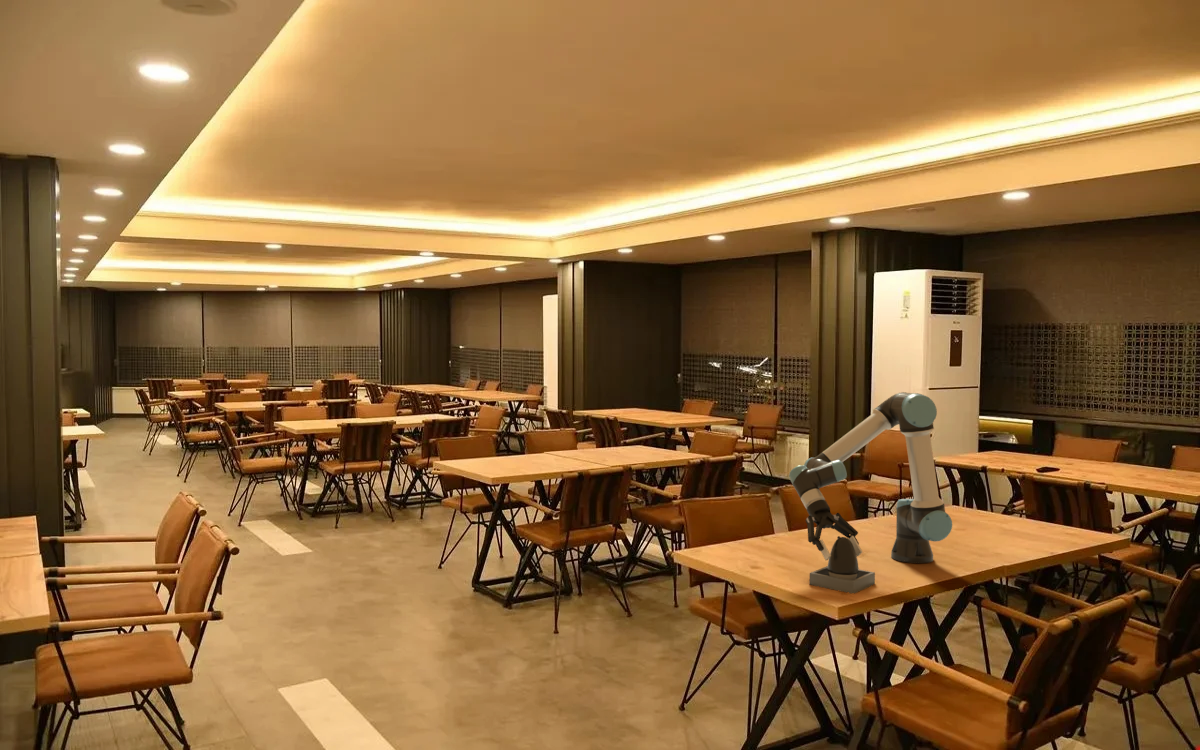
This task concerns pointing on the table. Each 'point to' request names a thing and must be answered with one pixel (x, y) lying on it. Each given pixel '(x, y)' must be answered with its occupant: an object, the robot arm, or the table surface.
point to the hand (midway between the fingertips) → (844, 556)
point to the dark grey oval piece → (843, 560)
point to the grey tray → (841, 580)
